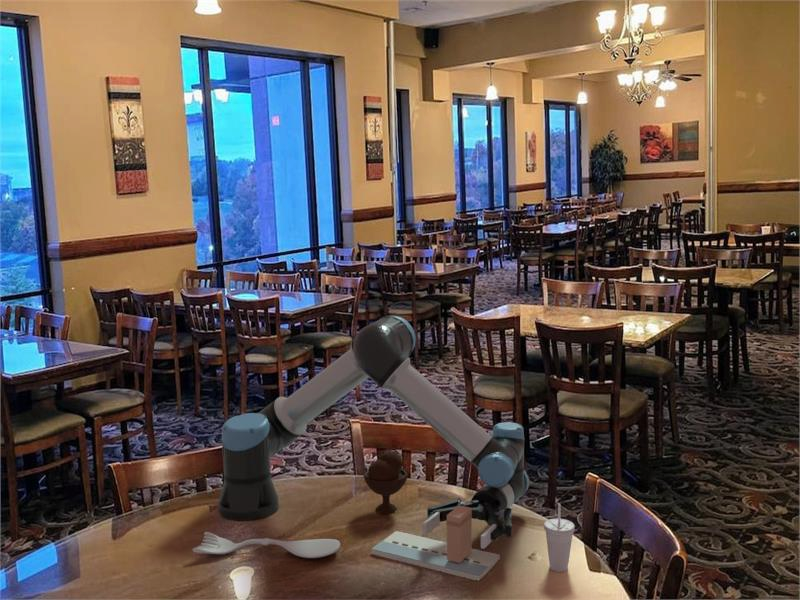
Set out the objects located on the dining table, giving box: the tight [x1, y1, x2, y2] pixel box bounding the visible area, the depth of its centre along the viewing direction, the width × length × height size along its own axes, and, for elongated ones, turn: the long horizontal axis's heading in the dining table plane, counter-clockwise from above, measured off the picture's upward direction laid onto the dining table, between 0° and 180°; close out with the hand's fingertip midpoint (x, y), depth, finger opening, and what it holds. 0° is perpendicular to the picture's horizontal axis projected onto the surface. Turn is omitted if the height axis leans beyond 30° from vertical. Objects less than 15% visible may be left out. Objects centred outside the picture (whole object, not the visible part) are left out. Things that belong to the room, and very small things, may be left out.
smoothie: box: [543, 503, 576, 573], centre depth 167 cm, size 6×6×14 cm
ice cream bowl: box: [363, 450, 409, 515], centre depth 199 cm, size 11×11×15 cm
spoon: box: [192, 531, 341, 559], centre depth 177 cm, size 9×32×4 cm, turn 86°
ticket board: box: [371, 530, 501, 582], centre depth 174 cm, size 26×11×1 cm, turn 60°
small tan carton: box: [445, 505, 473, 563], centre depth 170 cm, size 3×6×10 cm, turn 150°
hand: (452, 535), depth 167 cm, fingers open, 13 cm apart
